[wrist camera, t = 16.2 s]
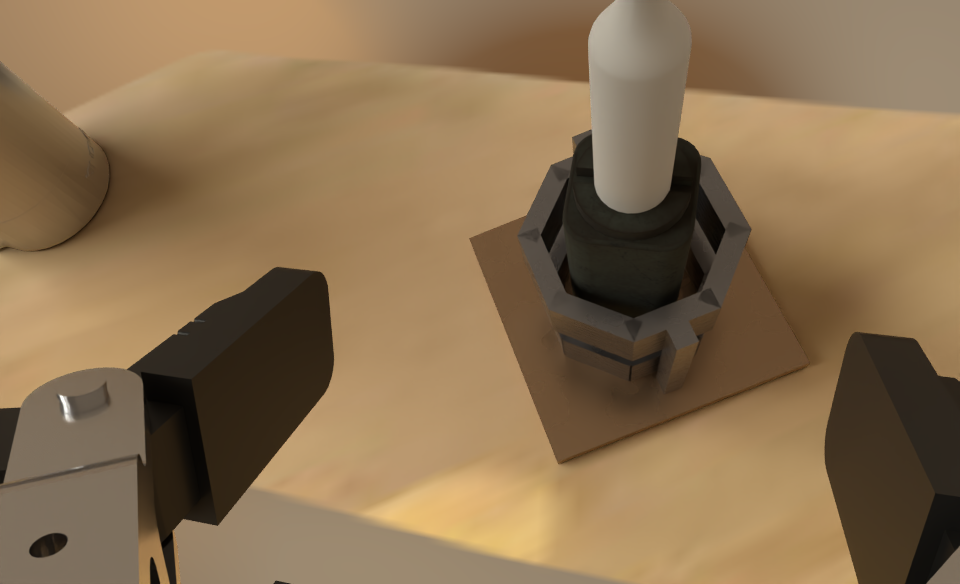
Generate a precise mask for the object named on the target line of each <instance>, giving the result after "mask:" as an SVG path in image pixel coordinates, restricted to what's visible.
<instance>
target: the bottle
mask: <svg viewBox="0 0 960 584" xmlns="http://www.w3.org/2000/svg"><path fill="white" fill-rule="evenodd" d="M691 45H692V37H691V29H690V26H689V23H688V21H687V18H686V17H685V16H684V15H683V13H682V12H681V11H680V10H679V9H678V8H677V7H676V6H675V5H674V4H673V3H672V2H670V1H669V0H615V2H613V3H612V4H611V5H610V6H609V7H607V8H606V9H605V10H604V11H603V12H602V13H601V14H600V15H599V16H598V18H597V19H596V21H595V22H594V23H593V26H592V29H591V32H590V35H589V39H588V55H589V75H590V76H589V77H590V99H591V121H592V134H590V135H588V136H587V137H585V138H584V139H582V140H581V141H580V142H579V144H578V145H577V147H576V148H575V151H574V154H573V159H572V164H571V170H570V176H569V181H568V187H567V193H566V198H565V204H564V210H563V228H564V235H565V242H566V249H567V257H568V264H569V271H570V278H571V285H572V293H573V296H575V297H578V298H580V299H583V300H586V301H588V302H591V303H594V304H596V305H599V306H602V307H604V308H607V309H610V310H612V311H615V312H618V313H621V314H623V315H626V316H629V317H631V318H636V317H638V316H641V315H643V314H646V313H648V312H651V311H653V310H656V309H658V308H661V307H663V306H666V305H669V304H671V303H674V302H676V301H677V300H678V296H679V292H680V287H681V283H682V279H683V275H684V270H685V266H686V262H687V258H688V253H689V249H690V245H691V241H692V236H693V232H694V228H695V219H696V210H697V201H698V192H699V183H700V174H701V157H700V155H699V152H698V150H697V149H696V148H695V146H694V145H692V144H691V143H690V142H688V141H686V140H684V139H682V138H678V133H679V126H680V119H681V113H682V106H683V99H684V92H685V85H686V79H687V72H688V65H689V59H690V52H691Z"/></svg>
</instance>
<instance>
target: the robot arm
mask: <svg viewBox="0 0 960 584" xmlns="http://www.w3.org/2000/svg"><path fill="white" fill-rule="evenodd" d="M109 177H110V176H109V164H108V161H107V157H106V155H105V153H104V152H103V150H102V149H101V147H100V146H99V145H98V144H97V143H95V142H94V141H93V140H92V139H91V138H90V137H88V136H87V135H86V133H85V132H84V131H83V130H81V129H80V128H78V127H77V126H76V125H74V124H73V123H72V122H71V121H70V120H69V119H67V118H66V117H65V116H64V115H63V114H62V113H60V112H59V111H58V110H57V109H56V108H55V107H54V106H52V105H51V104H50V103H49V102H48V101H47V100H45V99H44V98H43V97H42V96H41V95H39V94H38V93H37V92H36V91H35V90H33V89H32V88H31V87H30V86H29V85H28V84H26V83H25V82H24V81H23V80H22V79H20V78H19V77H18V76H17V75H16V74H15V73H13V72H12V71H11V70H10V69H9V68H8V67H6V66H5V65H4V64H3V63H2V62H0V248H4V247H11V248H15V249H19V250H26V251H35V250H41V249H46V248H49V247H52V246H54V245H57V244H60V243H62V242H63V241H65V240H67V239H68V238H70V237H72V236H73V235H75V234H76V233H77V232H78V231H79V230H81V229H82V228H83V227H84V226H85V225H86V224H87V223H88V222H89V221H90V219H91V218H92V217H93V216H94V215H95V213H96V212H97V210H98V208H99V207H100V205H101V204H102V202H103V199H104V197H105V194H106V192H107V189H108V183H109ZM333 365H334V352H333V341H332V329H331V317H330V306H329V294H328V285H327V281H326V278H325V277H324V275H323V274H322V273H321V272H318V271H309V270H300V269H290V268H281V267H276V268H274V269H272V270H271V271H269V272H268V273H267V274H266V275H264V276H263V277H262V278H260V279H259V280H258V281H256V282H255V283H254V284H253V285H251V286H250V287H249V288H247V289H246V290H245V291H244V292H241V293H239V294H236V295H234V296H232V297H229V298H227V299H224V300H222V301H219V302H217V303H214V304H213V305H212V306H210V307H209V308H208V309H206V310H205V311H204V312H202V313H201V314H200V315H199V316H197V317H196V318H195V319H194V322H189V323H188V324H187V325H185V326H184V327H183V328H181V329H180V330H179V331H178V334H177V335H175V334H173V335H172V336H171V337H169V338H168V339H167V340H165V341H164V342H163V343H161V344H160V345H159V346H157V347H156V348H155V349H153V350H152V351H151V352H149V353H148V354H147V355H145V356H144V357H143V358H141V359H140V360H139V361H137V362H136V363H135V364H133V365H132V366H131V367H129V368H128V369H127V370H125V369H120V368H94V369H87V370H82V371H77V372H73V373H70V374H67V375H64V376H61V377H58V378H56V379H54V380H51V381H49V382H47V383H45V384H44V385H42V386H40V387H39V388H37V389H36V390H34V391H33V392H32V393H31V394H30V395H29V396H27V398H26V399H25V400H24V402H23V404H22V406H21V408H3V409H0V584H181V582H180V568H179V557H178V546H177V542H176V537H175V532H174V529H175V528H176V526H177V525H178V524H179V523H180V522H181V520H183V519H186V520H192V521H197V522H202V523H207V524H212V525H217V526H218V525H219V523H220V522H221V521H222V520H223V519H224V517H225V516H226V515H227V514H228V512H229V511H230V510H231V509H232V507H233V506H234V505H235V504H236V503H237V501H238V500H239V498H241V496H242V495H243V494H244V493H245V491H246V490H247V489H248V488H249V486H250V485H251V484H252V483H253V481H254V480H255V479H256V478H257V477H258V475H259V474H260V473H261V472H262V470H263V469H264V468H265V467H266V465H267V464H268V463H269V462H270V460H271V459H272V458H273V457H274V455H275V454H276V453H277V452H278V450H279V449H280V448H281V447H282V446H283V444H284V443H285V442H286V441H287V439H288V438H289V437H290V436H291V434H292V433H293V432H294V431H295V429H296V428H297V427H298V426H299V424H300V423H301V422H302V421H303V419H304V418H305V417H306V416H307V415H308V413H309V412H310V411H311V410H312V408H313V407H314V406H315V405H316V403H317V402H318V401H319V400H320V398H321V397H322V396H323V395H324V393H325V392H326V390H327V388H328V386H329V383H330V380H331V377H332V372H333ZM825 465H826V470H827V474H828V477H829V481H830V484H831V488H832V491H833V495H834V498H835V502H836V505H837V509H838V512H839V516H840V519H841V523H842V527H843V530H844V534H845V537H846V541H847V544H848V548H849V551H850V555H851V558H852V562H853V565H854V569H855V572H856V576H857V579H858V583H859V584H960V382H959V381H958V380H957V379H955V378H950V377H942V376H938V375H937V373H936V371H935V370H934V368H933V367H932V365H931V363H930V362H929V360H928V358H927V357H926V355H925V353H924V352H923V350H922V348H921V347H920V345H919V344H918V342H917V341H916V340H915V339H914V338H905V337H896V336H887V335H878V334H869V333H860V332H855V333H854V334H853V335H852V336H851V337H850V339H849V342H848V344H847V347H846V351H845V355H844V359H843V363H842V367H841V371H840V375H839V379H838V383H837V387H836V391H835V395H834V399H833V403H832V408H831V412H830V416H829V420H828V424H827V429H826V436H825ZM274 584H289V583H284V582H279V581H275V583H274Z"/></svg>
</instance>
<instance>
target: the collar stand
mask: <svg viewBox="0 0 960 584" xmlns="http://www.w3.org/2000/svg"><path fill="white" fill-rule="evenodd" d="M590 134H592V130H589V131H586V132H584V133H581V134H579V135H576V136H574V137H572V142H573V153H574V151H575V148H576V147H577V145H578V144H579V142H580V141H581V140H582V139H584V138H585V137H587V136H588V135H590ZM700 157H701V174H700V183H699V192H698V201H697V210H696V219H695V228H694V232H693V236H692V241H691V245H690V249H689V253H688V258H687V262H686V266H685V270H684V275H683V279H682V283H681V287H680V292H679V296H678V300H677V301H676V302H674V303H671V304H669V305H666V306H663V307H661V308H658V309H656V310H653V311H651V312H648V313H646V314H643V315H641V316H638V317H636V318H631V317H629V316H626V315H623V314H621V313H618V312H615V311H612V310H610V309H607V308H604V307H602V306H599V305H596V304H594V303H591V302H588V301H586V300H583V299H580V298H578V297H575V296H573V293H572V285H571V278H570V271H569V264H568V257H567V249H566V242H565V235H564V228H563V210H564V204H565V198H566V193H567V187H568V181H569V176H570V170H571V164H572V159H573V157H570V158H568V159H565V160H563V161H560V162H558V163H555V164H553V165H551V166H550V169H549V171H548V173H547V175H546V177H545V179H544V181H543V183H542V185H541V187H540V189H539V191H538V193H537V195H536V198H535V200H534V202H533V204H532V206H531V208H530V210H529V212H528V214H527V216H524V217H522V218H519V219H517V220H514V221H512V222H509V223H507V224H504V225H502V226H499V227H497V228H494V229H492V230H489V231H487V232H484V233H482V234H479V235H477V236H474V237H472V238H469V239H470V241H471V244H472V246H473V249H474V251H475V254H476V256H477V259H478V262H479V264H480V267H481V269H482V272H483V274H484V277H485V279H486V282H487V284H488V287H489V289H490V292H491V295H492V297H493V300H494V302H495V305H496V307H497V310H498V312H499V315H500V317H501V320H502V322H503V325H504V327H505V330H506V333H507V335H508V338H509V340H510V343H511V345H512V348H513V350H514V353H515V355H516V358H517V360H518V363H519V366H520V368H521V371H522V373H523V376H524V378H525V381H526V383H527V386H528V388H529V391H530V393H531V396H532V399H533V401H534V404H535V406H536V409H537V411H538V414H539V416H540V419H541V421H542V424H543V426H544V429H545V432H546V434H547V437H548V439H549V442H550V444H551V447H552V449H553V452H554V454H555V457H556V459H557V462H558V464H559V463H562V462H565V461H567V460H570V459H572V458H575V457H577V456H580V455H582V454H585V453H588V452H590V451H593V450H595V449H598V448H600V447H603V446H605V445H608V444H611V443H613V442H616V441H618V440H621V439H623V438H626V437H628V436H631V435H633V434H636V433H639V432H641V431H644V430H646V429H649V428H651V427H654V426H656V425H659V424H662V423H664V422H667V421H669V420H672V419H674V418H677V417H679V416H682V415H684V414H687V413H690V412H692V411H695V410H697V409H700V408H702V407H705V406H707V405H710V404H713V403H715V402H718V401H720V400H723V399H725V398H728V397H730V396H733V395H736V394H738V393H741V392H743V391H746V390H748V389H751V388H753V387H756V386H758V385H761V384H764V383H766V382H769V381H771V380H774V379H776V378H779V377H781V376H784V375H787V374H789V373H792V372H794V371H797V370H799V369H802V368H804V367H807V366H808V364H809V363H810V361H809V360H808V358H807V356H806V354H805V353H804V351H803V349H802V347H801V346H800V344H799V342H798V340H797V339H796V337H795V335H794V333H793V331H792V330H791V328H790V326H789V324H788V323H787V321H786V319H785V317H784V316H783V314H782V312H781V310H780V309H779V307H778V305H777V303H776V302H775V300H774V298H773V296H772V294H771V293H770V291H769V289H768V287H767V286H766V284H765V282H764V280H763V279H762V277H761V275H760V273H759V272H758V270H757V268H756V266H755V265H754V263H753V261H752V259H751V257H750V256H749V254H748V252H747V250H746V249H745V245H746V242H747V240H748V237H749V235H750V232H751V228H750V226H749V224H748V222H747V221H746V219H745V217H744V215H743V214H742V212H741V210H740V209H739V207H738V205H737V203H736V202H735V200H734V198H733V196H732V195H731V193H730V191H729V190H728V188H727V186H726V184H725V183H724V181H723V179H722V177H721V176H720V174H719V172H718V170H717V169H716V167H715V165H714V164H713V162H712V160H711V158H708V157H705V156H701V155H700Z"/></svg>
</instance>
